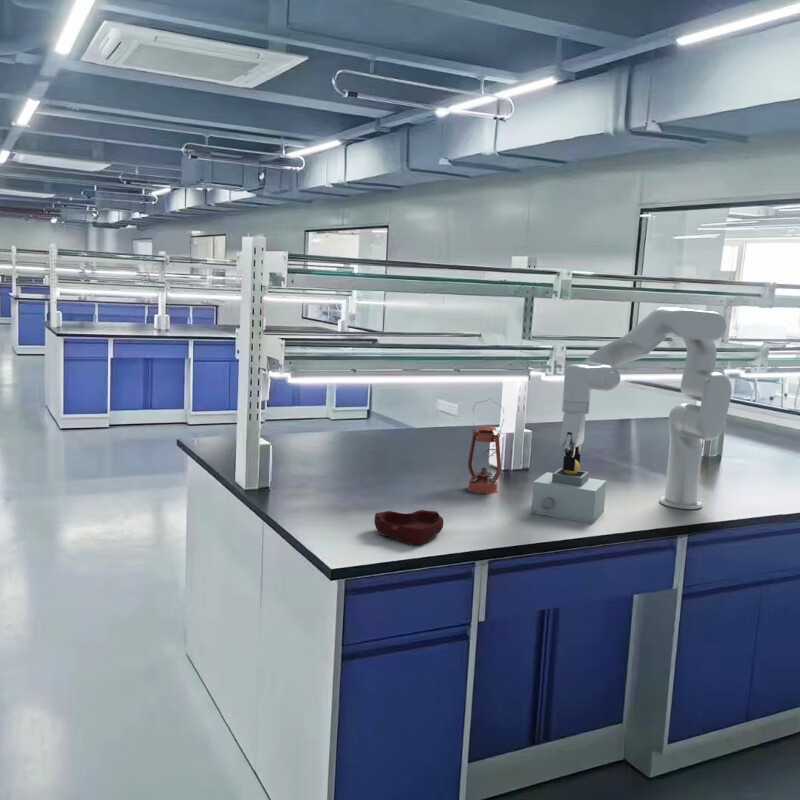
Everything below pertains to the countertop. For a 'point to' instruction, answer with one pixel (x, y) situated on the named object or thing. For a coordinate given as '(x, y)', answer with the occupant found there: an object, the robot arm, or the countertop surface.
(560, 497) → the housing
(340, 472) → the countertop surface
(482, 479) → the lantern
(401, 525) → the ashtray
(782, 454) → the countertop surface
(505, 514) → the countertop surface
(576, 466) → the ball
